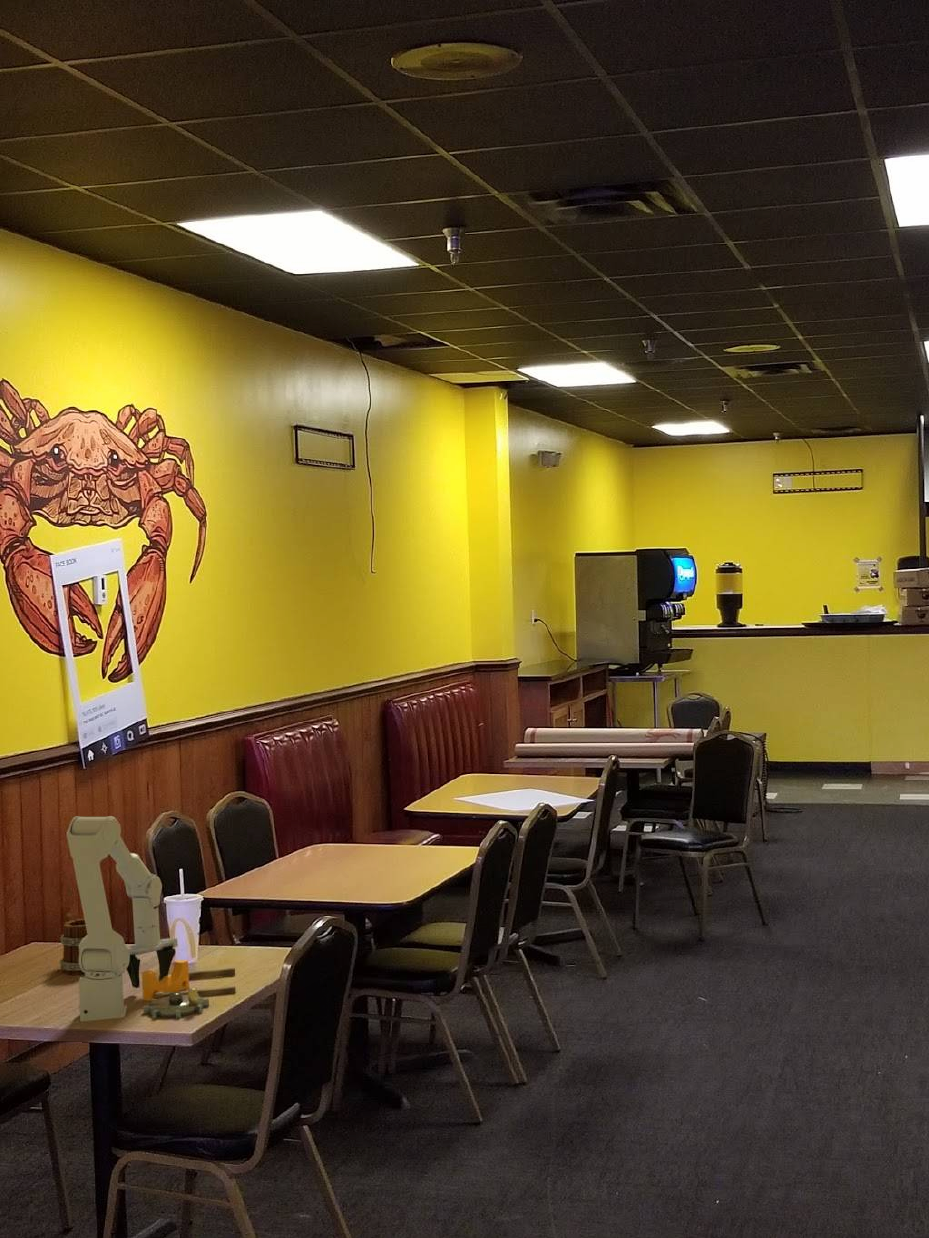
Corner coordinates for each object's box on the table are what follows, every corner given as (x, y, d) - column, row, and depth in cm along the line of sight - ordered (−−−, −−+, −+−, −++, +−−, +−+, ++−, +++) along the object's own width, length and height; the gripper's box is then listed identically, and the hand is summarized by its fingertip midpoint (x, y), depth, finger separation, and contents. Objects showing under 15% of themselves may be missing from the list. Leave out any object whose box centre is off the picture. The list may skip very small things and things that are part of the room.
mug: (71, 978, 350) (63, 916, 351) (50, 977, 361) (43, 917, 363) (116, 968, 357) (109, 907, 359) (94, 968, 368) (87, 909, 370)
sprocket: (129, 1015, 315) (128, 992, 315) (173, 997, 327) (172, 975, 327) (179, 1021, 308) (178, 998, 308) (222, 1003, 320) (221, 981, 320)
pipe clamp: (176, 986, 338) (174, 958, 338) (189, 988, 336) (187, 960, 335) (137, 999, 328) (136, 971, 328) (151, 1002, 326) (149, 973, 326)
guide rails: (155, 1001, 326) (154, 993, 326) (159, 981, 344) (158, 973, 344) (235, 994, 329) (235, 985, 328) (235, 973, 346) (234, 965, 346)
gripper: (126, 934, 326) (130, 993, 327) (182, 921, 336) (186, 979, 336) (111, 929, 332) (115, 988, 332) (167, 917, 341) (170, 974, 341)
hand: (150, 983), depth 334 cm, fingers open, 7 cm apart
